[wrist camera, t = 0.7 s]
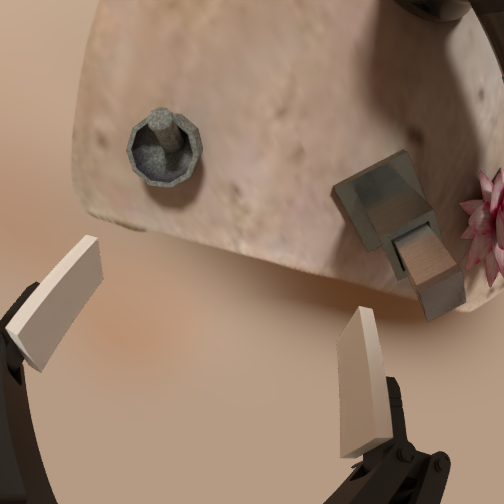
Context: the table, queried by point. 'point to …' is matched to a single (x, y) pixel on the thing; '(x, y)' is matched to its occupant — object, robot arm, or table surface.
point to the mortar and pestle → (164, 148)
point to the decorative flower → (487, 227)
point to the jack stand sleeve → (387, 205)
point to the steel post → (430, 271)
